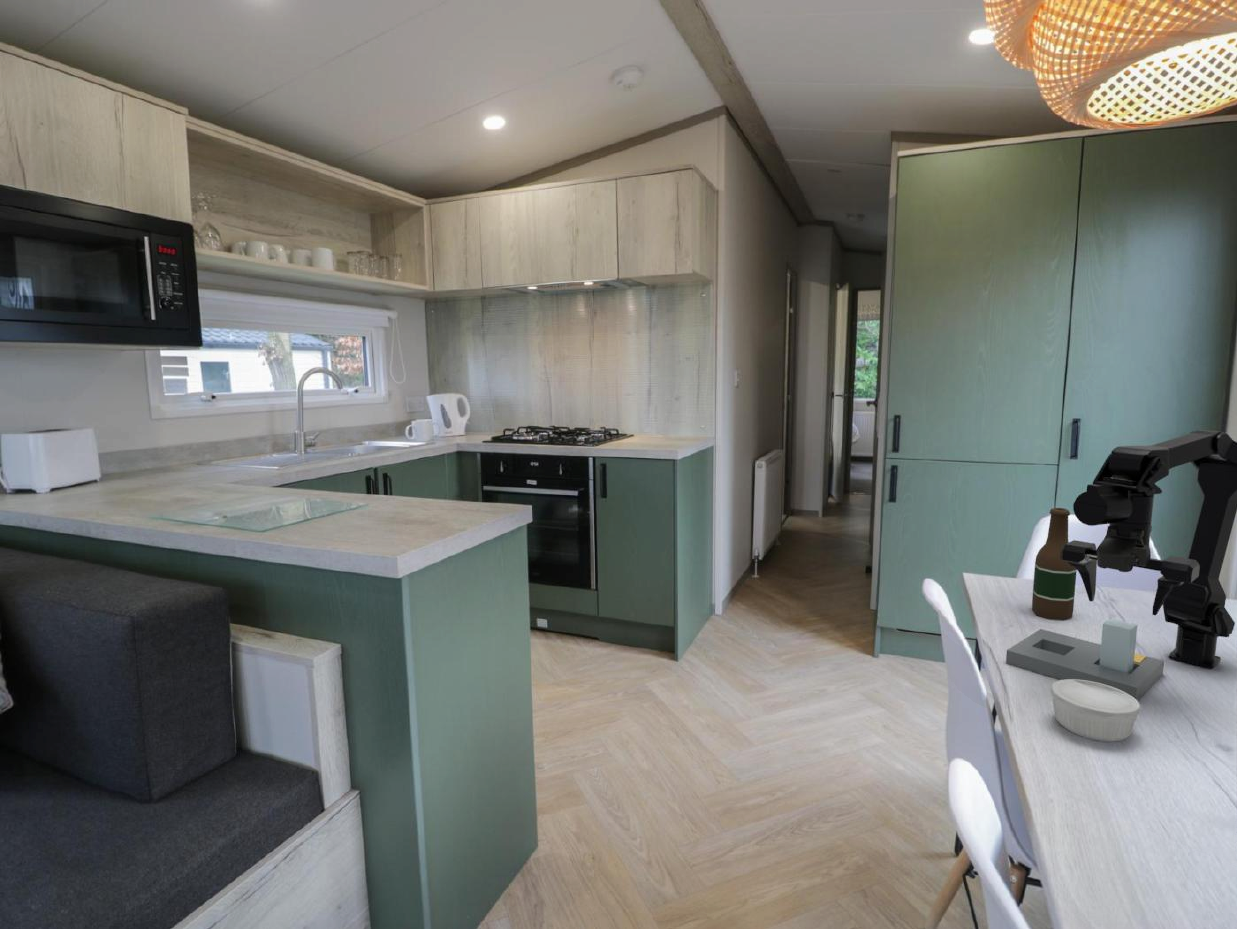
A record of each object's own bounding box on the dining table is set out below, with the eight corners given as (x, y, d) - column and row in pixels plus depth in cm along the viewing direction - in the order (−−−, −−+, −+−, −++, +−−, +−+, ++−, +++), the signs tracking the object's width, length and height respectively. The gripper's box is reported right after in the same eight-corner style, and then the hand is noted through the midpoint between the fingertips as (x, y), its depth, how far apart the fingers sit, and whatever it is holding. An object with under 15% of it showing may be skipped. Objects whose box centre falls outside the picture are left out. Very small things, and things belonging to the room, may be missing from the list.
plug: (1105, 671, 124) (1110, 618, 122) (1132, 678, 121) (1137, 624, 119) (1098, 677, 121) (1103, 623, 120) (1125, 685, 118) (1130, 630, 117)
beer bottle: (1071, 623, 146) (1080, 514, 143) (1029, 616, 151) (1037, 509, 148) (1074, 613, 153) (1082, 507, 149) (1033, 606, 157) (1041, 504, 154)
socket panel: (1039, 640, 138) (1040, 628, 137) (1162, 674, 122) (1164, 659, 122) (1005, 662, 128) (1006, 649, 127) (1135, 702, 112) (1137, 686, 112)
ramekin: (1135, 721, 107) (1138, 689, 106) (1139, 755, 97) (1142, 720, 97) (1050, 702, 113) (1052, 672, 112) (1047, 732, 104) (1049, 700, 103)
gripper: (1051, 518, 119) (1045, 604, 122) (1187, 538, 105) (1176, 635, 107) (1074, 509, 126) (1068, 591, 128) (1204, 527, 112) (1194, 618, 114)
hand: (1122, 607), depth 119 cm, fingers open, 9 cm apart
